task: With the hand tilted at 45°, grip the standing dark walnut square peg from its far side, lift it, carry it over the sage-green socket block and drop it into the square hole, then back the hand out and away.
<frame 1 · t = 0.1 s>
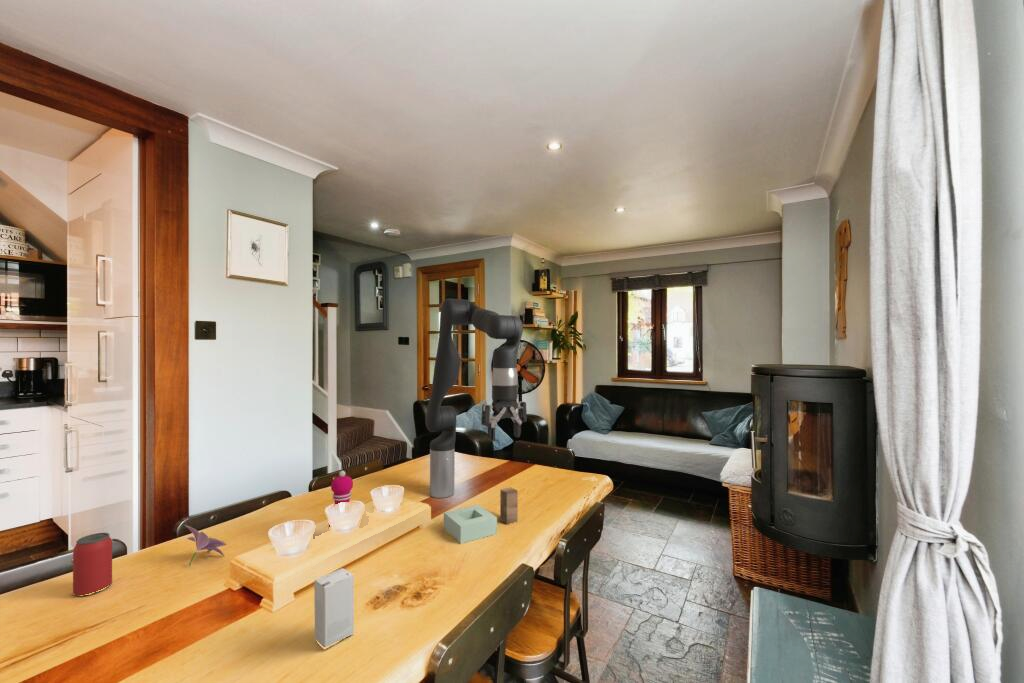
hand: (504, 438, 127), 29 cm above the table, tool pointing down, fingers open, 8 cm apart
peg: (508, 521, 139), on the table
lily: (204, 560, 114), on the table
socket: (469, 531, 131), on the table
skincare box: (334, 640, 83), on the table
beer can: (92, 590, 100), on the table
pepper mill: (342, 540, 126), on the table
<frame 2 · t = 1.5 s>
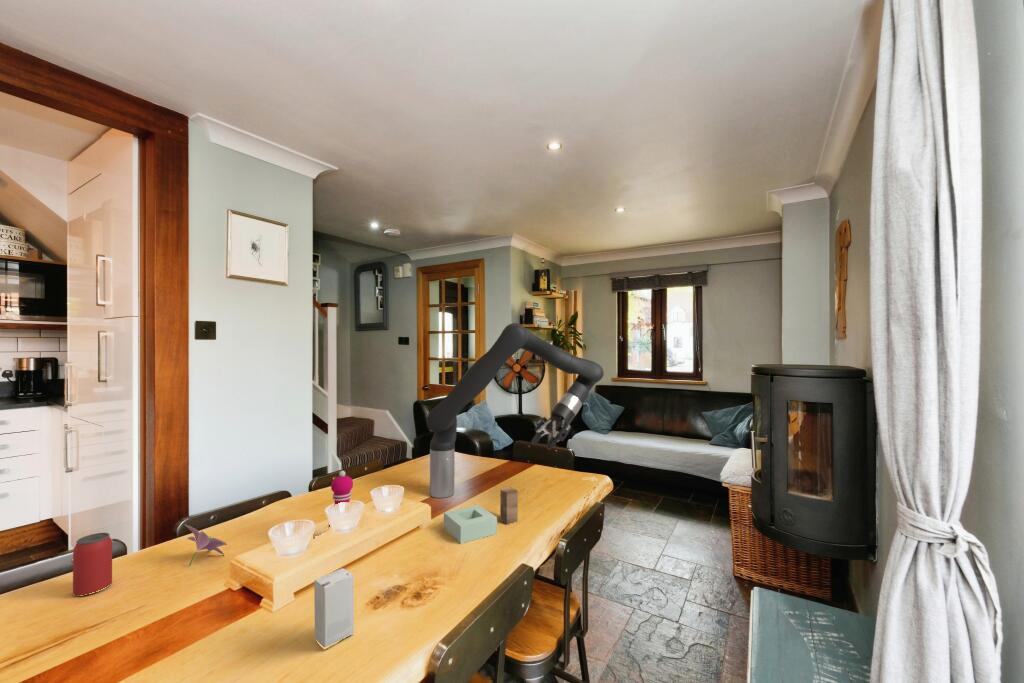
hand: (540, 445, 146), 23 cm above the table, tool tilted 45°, fingers open, 8 cm apart
nothing on the table moved.
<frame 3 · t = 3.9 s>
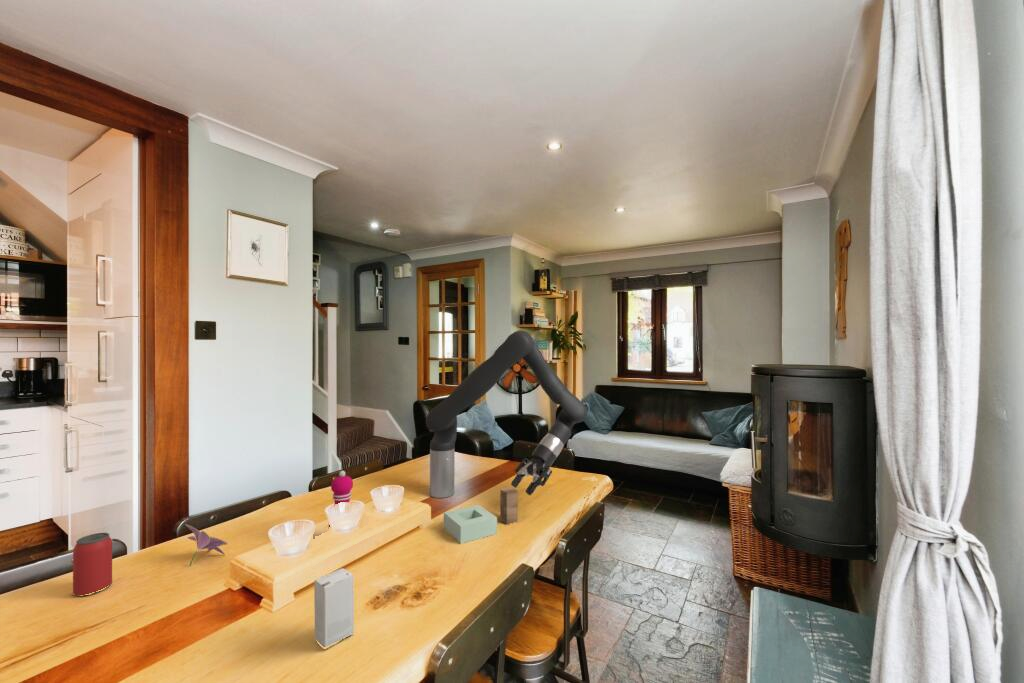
hand: (520, 489, 141), 9 cm above the table, tool tilted 45°, fingers open, 8 cm apart
nothing on the table moved.
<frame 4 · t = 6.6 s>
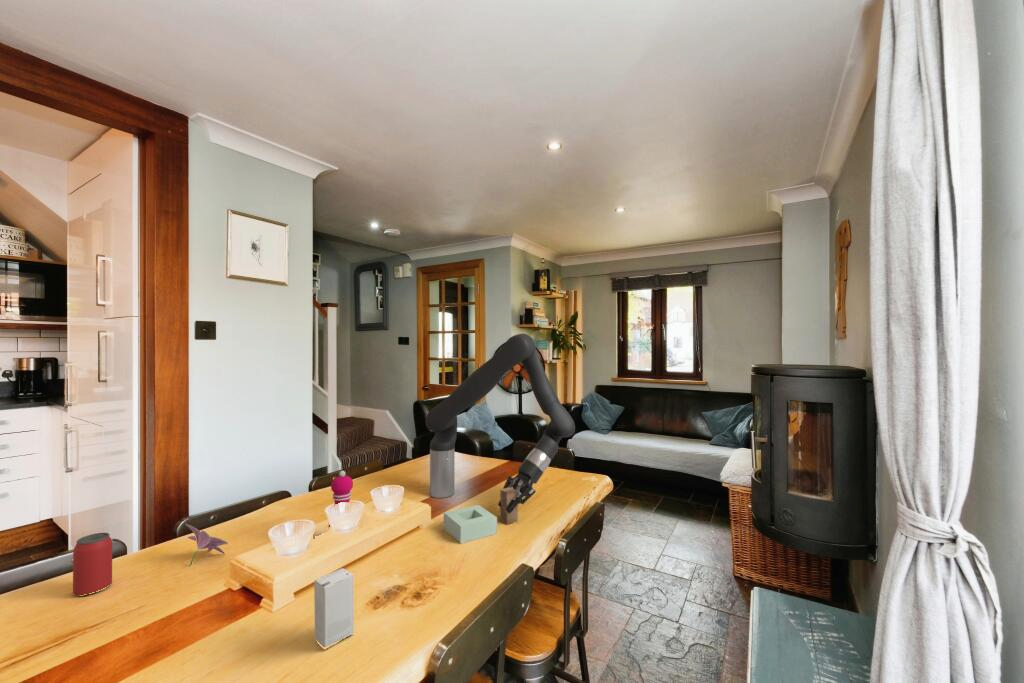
hand: (503, 509, 138), 4 cm above the table, tool tilted 45°, fingers closed on peg, 4 cm apart
peg: (509, 521, 139), on the table, touching gripper
everything else where it was.
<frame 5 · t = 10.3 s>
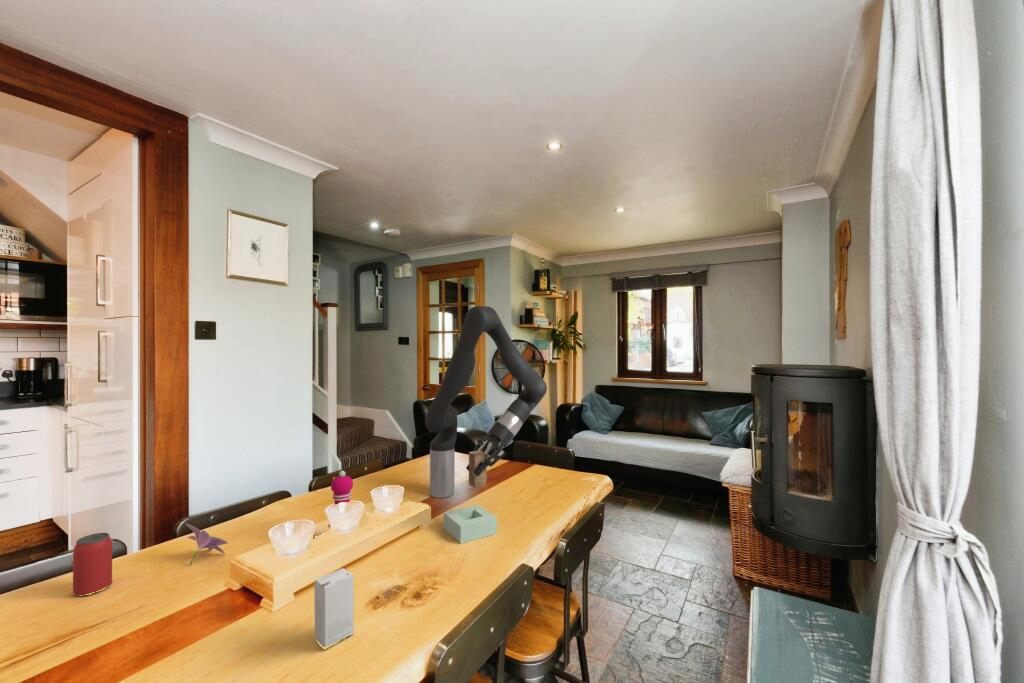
hand: (471, 472, 132), 18 cm above the table, tool tilted 45°, fingers closed on peg, 4 cm apart
peg: (477, 485, 133), point 13 cm above the table, touching gripper
everything else where it was.
when the fingers open (6 cm above the table, at t = 14.3 s): peg drops 1 cm, resting on socket.
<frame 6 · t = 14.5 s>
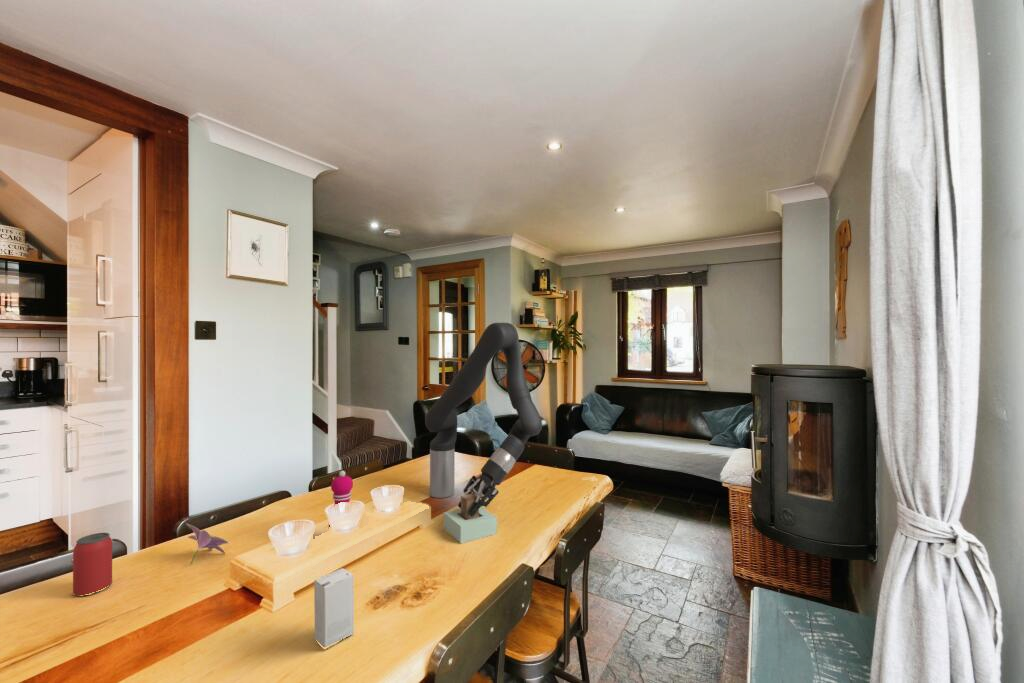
hand: (464, 511, 131), 6 cm above the table, tool tilted 45°, fingers open, 6 cm apart
peg: (469, 529, 132), point 1 cm above the table, touching socket
everything else where it was.
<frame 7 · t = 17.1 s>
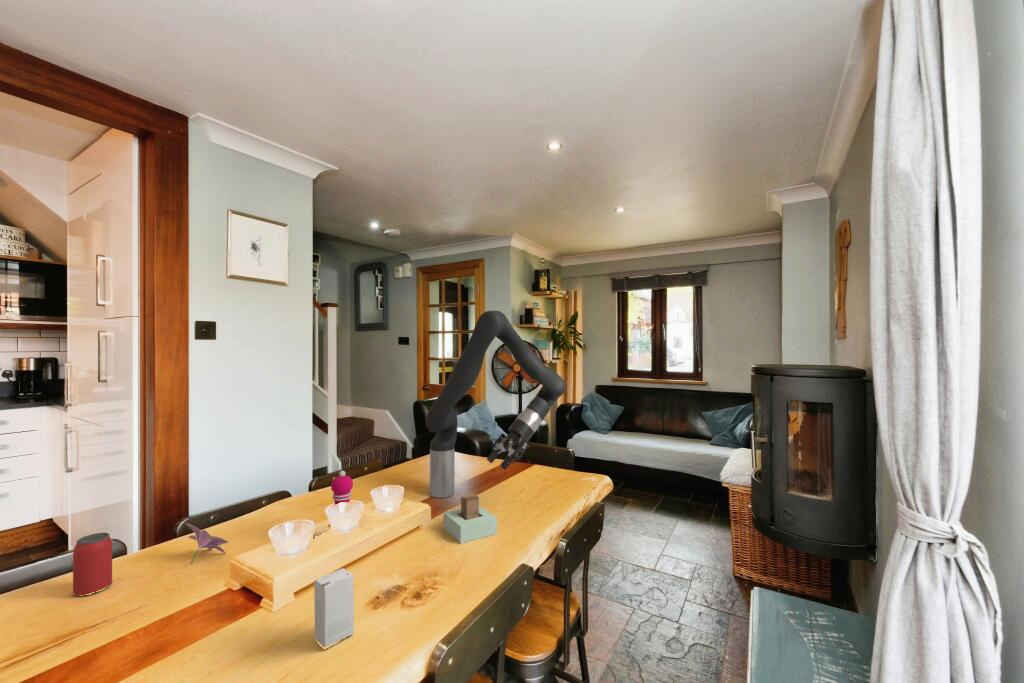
hand: (495, 464, 138), 19 cm above the table, tool tilted 45°, fingers open, 8 cm apart
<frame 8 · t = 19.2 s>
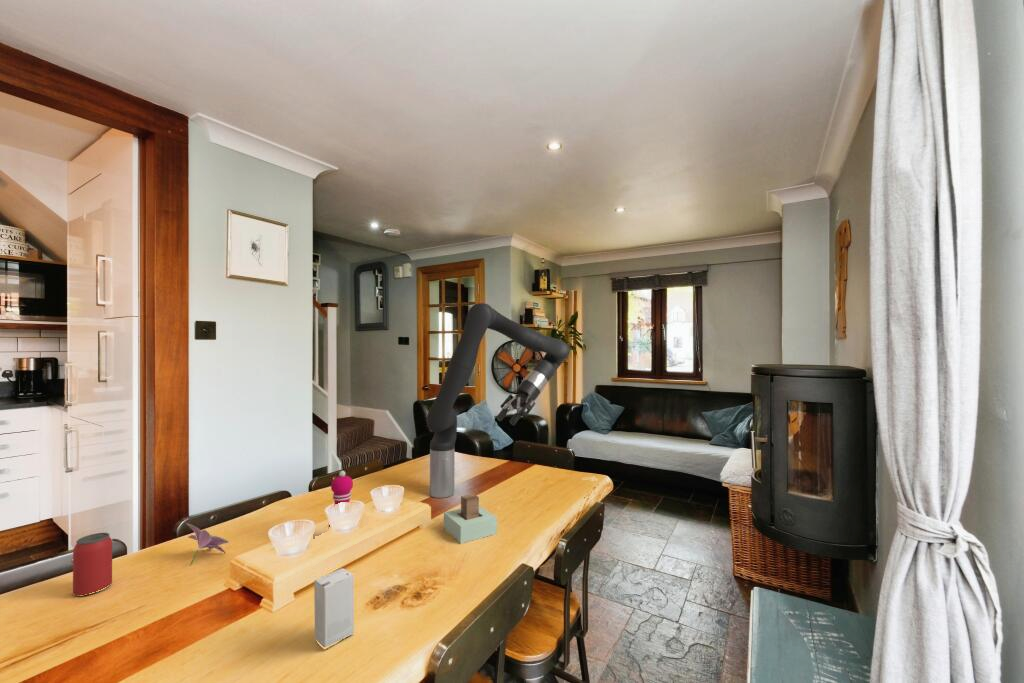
hand: (504, 421, 146), 31 cm above the table, tool tilted 45°, fingers open, 8 cm apart
at the end: peg 0.1 cm off-centre on the socket, point 0.5 cm above the socket's base; peg tilted 0°; the gripper is holding nothing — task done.
